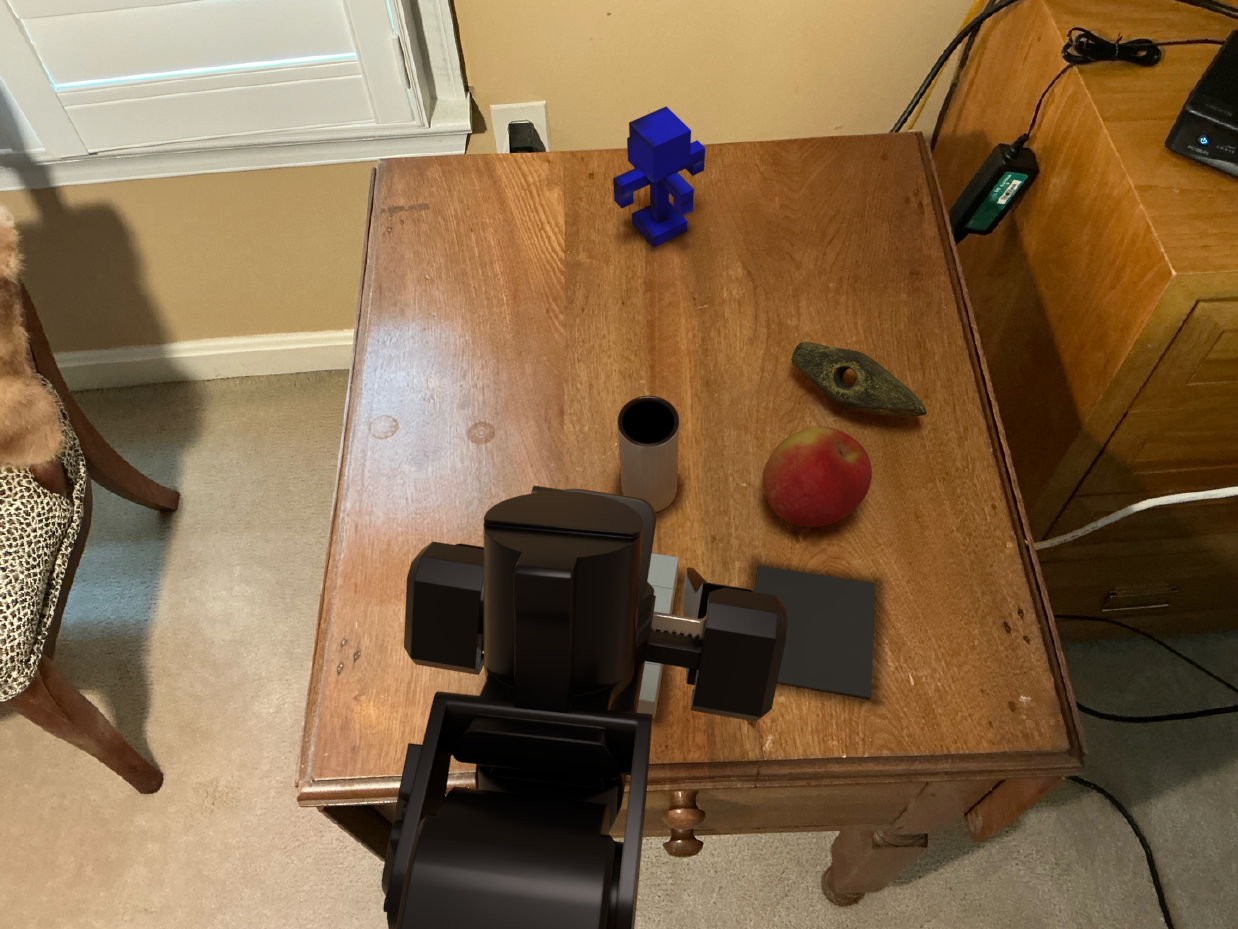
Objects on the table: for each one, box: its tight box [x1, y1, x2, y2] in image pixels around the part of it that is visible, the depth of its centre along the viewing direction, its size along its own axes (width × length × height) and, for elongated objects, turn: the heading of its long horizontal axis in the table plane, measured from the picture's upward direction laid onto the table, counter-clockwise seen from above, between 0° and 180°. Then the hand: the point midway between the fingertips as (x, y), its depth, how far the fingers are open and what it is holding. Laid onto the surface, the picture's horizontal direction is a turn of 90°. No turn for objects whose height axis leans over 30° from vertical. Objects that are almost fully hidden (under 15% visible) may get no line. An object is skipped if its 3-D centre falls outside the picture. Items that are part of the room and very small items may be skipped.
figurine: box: [612, 106, 706, 248], centre depth 83 cm, size 8×8×12 cm
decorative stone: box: [790, 341, 928, 418], centre depth 75 cm, size 11×8×5 cm
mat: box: [754, 565, 876, 700], centre depth 66 cm, size 9×9×1 cm
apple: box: [762, 426, 873, 528], centre depth 68 cm, size 8×8×8 cm
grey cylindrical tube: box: [616, 395, 680, 513], centre depth 69 cm, size 4×4×10 cm
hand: (612, 562), depth 52 cm, fingers open, 9 cm apart
